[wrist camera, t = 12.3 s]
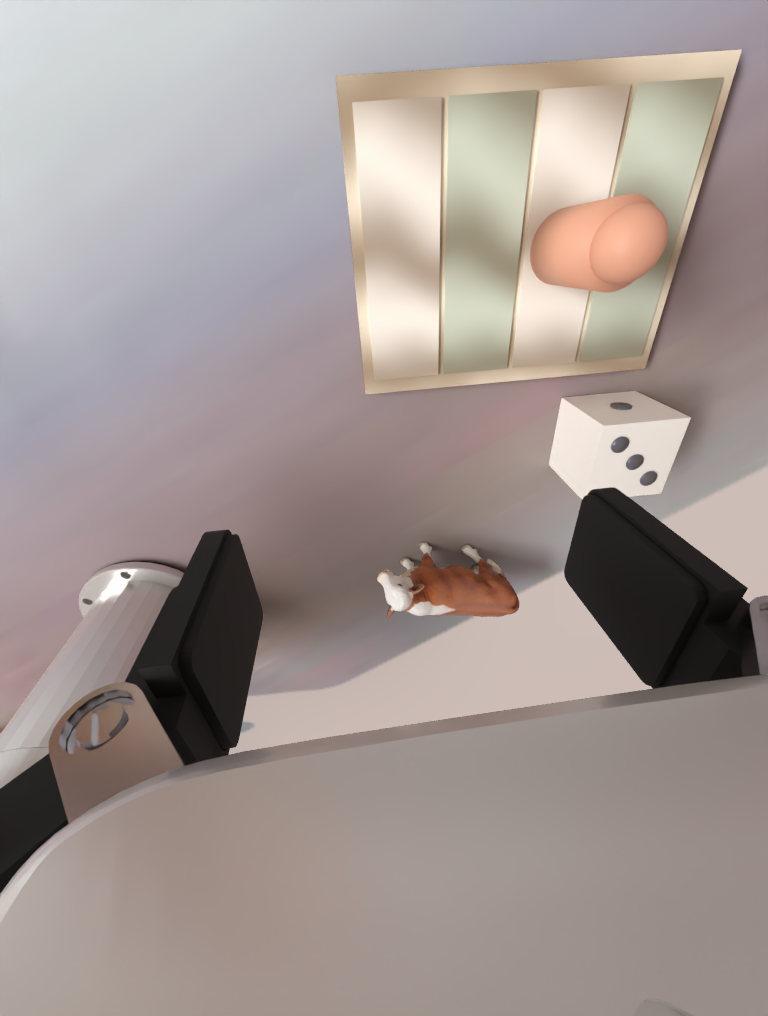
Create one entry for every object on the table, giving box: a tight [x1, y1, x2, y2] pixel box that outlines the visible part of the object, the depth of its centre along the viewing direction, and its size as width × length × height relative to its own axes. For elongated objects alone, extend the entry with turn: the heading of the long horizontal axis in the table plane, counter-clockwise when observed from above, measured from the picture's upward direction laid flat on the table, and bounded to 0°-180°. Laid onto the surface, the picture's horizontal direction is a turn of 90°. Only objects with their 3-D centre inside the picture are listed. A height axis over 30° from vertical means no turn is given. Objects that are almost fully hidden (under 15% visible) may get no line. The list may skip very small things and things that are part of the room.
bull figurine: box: [377, 542, 519, 618], centre depth 35 cm, size 4×13×8 cm, turn 74°
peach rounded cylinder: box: [530, 194, 668, 292], centre depth 20 cm, size 4×4×8 cm
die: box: [549, 391, 691, 499], centre depth 30 cm, size 6×6×6 cm
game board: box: [336, 50, 742, 394], centre depth 24 cm, size 16×21×1 cm
